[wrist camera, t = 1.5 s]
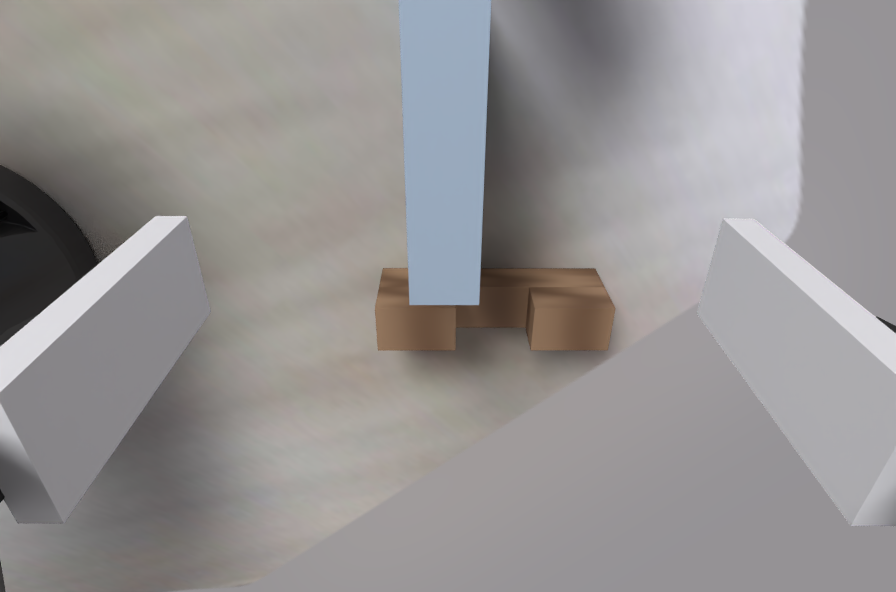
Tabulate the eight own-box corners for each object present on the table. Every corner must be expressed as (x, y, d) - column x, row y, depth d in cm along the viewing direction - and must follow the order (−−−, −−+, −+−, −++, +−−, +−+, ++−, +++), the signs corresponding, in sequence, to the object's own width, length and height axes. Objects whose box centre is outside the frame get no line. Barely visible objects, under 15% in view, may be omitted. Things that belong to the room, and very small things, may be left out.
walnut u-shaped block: (385, 307, 38) (378, 350, 34) (382, 268, 36) (374, 308, 32) (588, 307, 38) (607, 350, 34) (595, 268, 37) (615, 308, 32)
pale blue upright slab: (419, 203, 34) (409, 305, 24) (414, -21, 28) (398, -15, 18) (468, 203, 34) (479, 305, 24) (473, -20, 28) (491, -14, 18)
